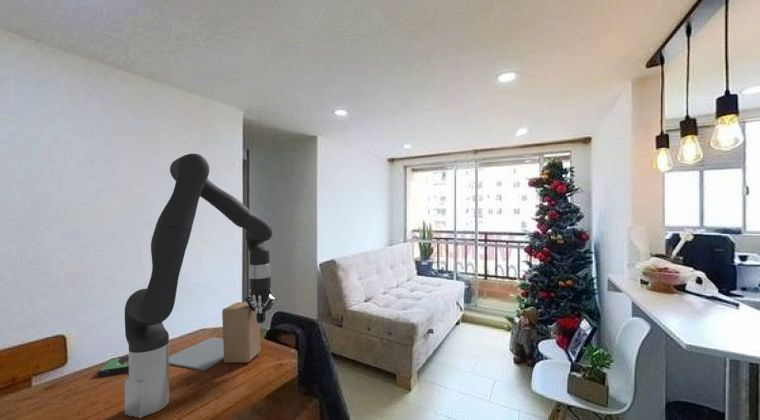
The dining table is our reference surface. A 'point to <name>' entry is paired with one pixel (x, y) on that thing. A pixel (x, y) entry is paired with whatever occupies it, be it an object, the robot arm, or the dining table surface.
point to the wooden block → (240, 333)
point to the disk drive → (115, 366)
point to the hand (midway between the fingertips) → (261, 322)
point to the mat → (200, 355)
